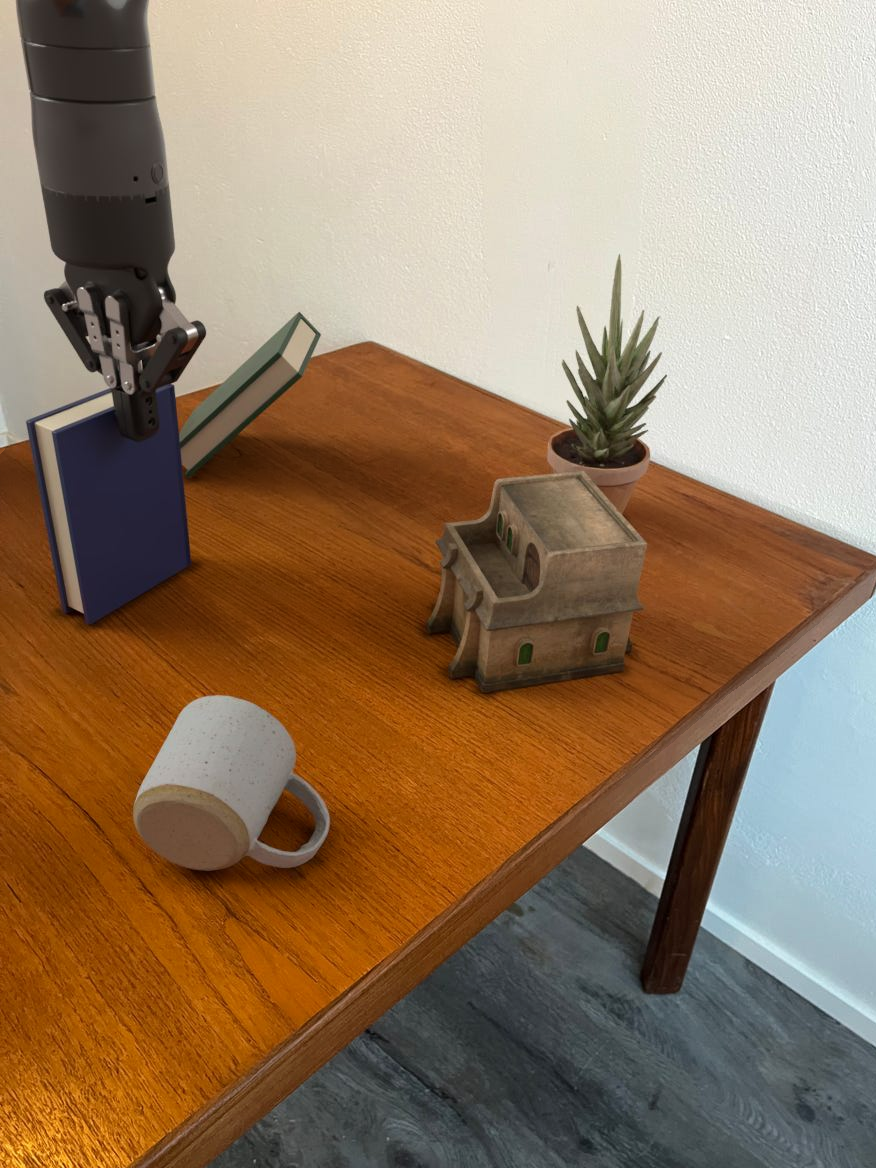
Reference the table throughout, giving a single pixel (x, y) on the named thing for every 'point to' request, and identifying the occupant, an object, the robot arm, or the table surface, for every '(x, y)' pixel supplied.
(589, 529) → the miniature house
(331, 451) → the table surface
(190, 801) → the ceramic mug
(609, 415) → the potted plant
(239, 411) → the green book
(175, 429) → the navy book
